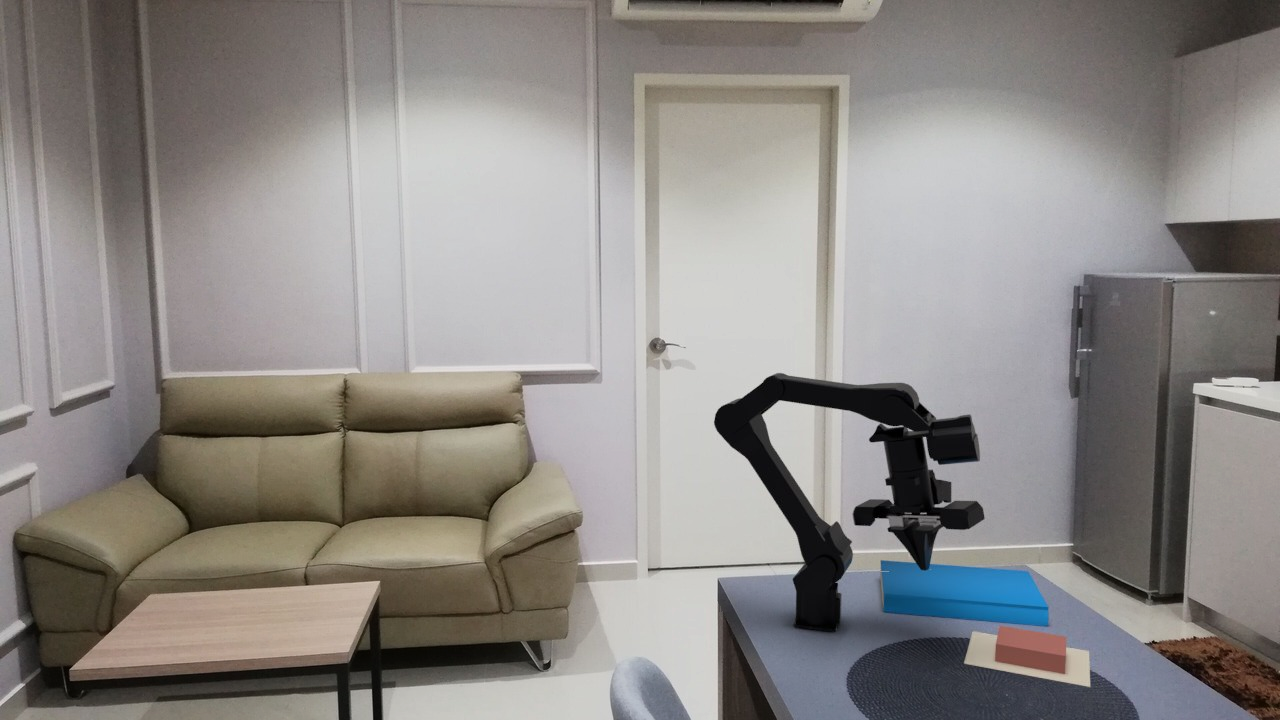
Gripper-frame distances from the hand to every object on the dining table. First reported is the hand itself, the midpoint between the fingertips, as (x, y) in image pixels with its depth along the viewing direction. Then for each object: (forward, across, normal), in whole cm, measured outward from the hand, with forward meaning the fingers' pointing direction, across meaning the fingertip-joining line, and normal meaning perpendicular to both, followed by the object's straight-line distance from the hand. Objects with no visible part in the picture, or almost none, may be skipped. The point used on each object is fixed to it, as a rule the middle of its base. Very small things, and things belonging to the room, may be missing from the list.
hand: (925, 569), depth 134 cm
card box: (+11, -8, -2) cm, 14 cm away
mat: (+14, -12, -4) cm, 18 cm away
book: (+12, +5, -17) cm, 22 cm away
